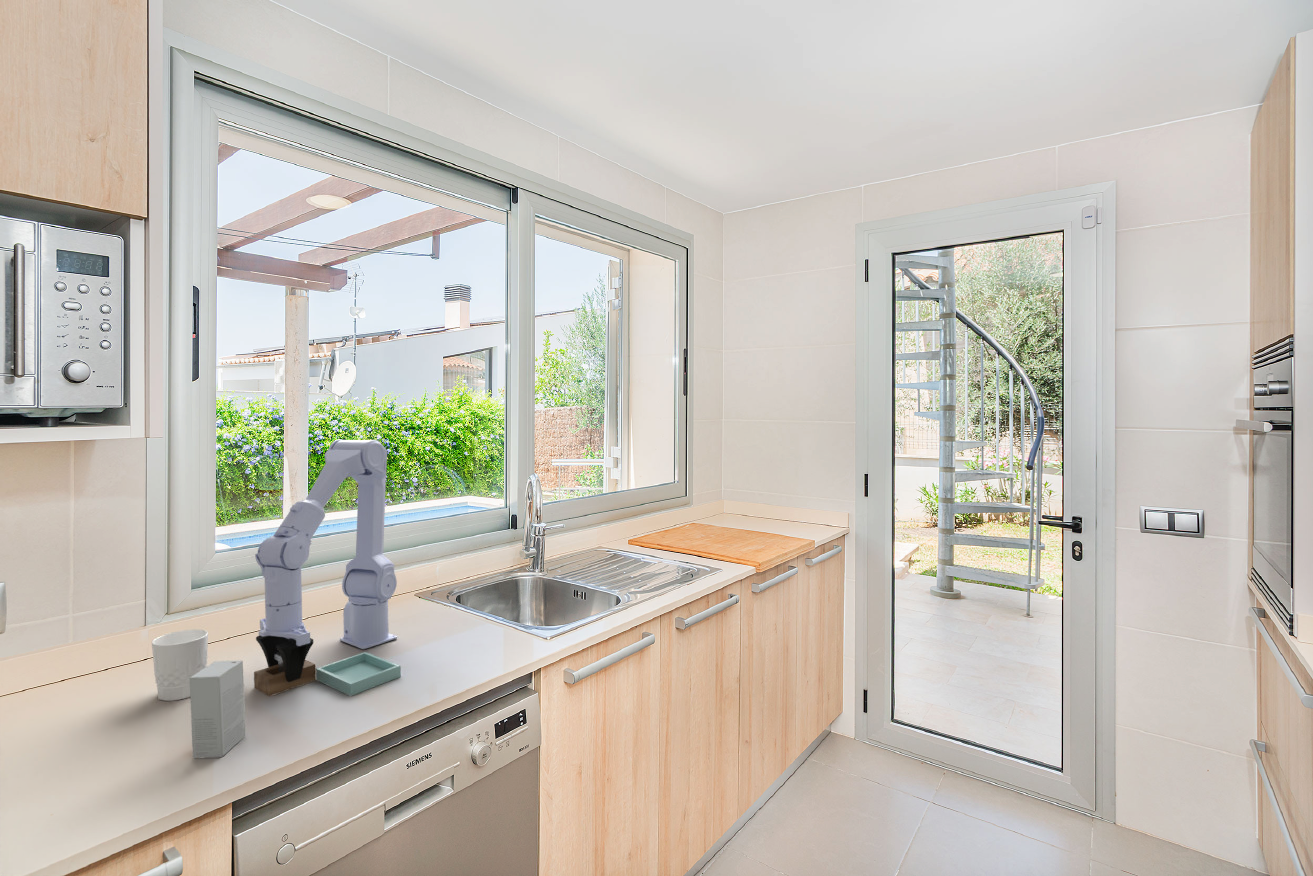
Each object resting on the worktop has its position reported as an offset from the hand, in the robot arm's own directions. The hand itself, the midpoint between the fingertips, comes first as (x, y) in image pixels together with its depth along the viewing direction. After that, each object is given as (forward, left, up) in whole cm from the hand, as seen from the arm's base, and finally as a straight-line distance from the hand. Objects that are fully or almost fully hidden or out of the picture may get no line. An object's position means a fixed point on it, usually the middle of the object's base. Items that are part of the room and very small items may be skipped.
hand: (285, 675), depth 113 cm
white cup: (-11, -12, -2) cm, 17 cm away
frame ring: (0, 0, -2) cm, 2 cm away
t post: (0, 0, -2) cm, 2 cm away
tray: (+9, +9, -2) cm, 12 cm away
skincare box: (+15, -16, -2) cm, 22 cm away
